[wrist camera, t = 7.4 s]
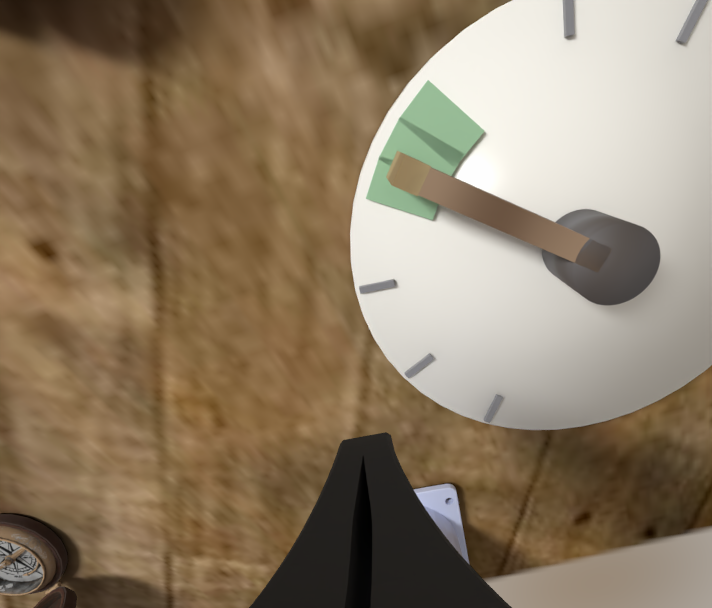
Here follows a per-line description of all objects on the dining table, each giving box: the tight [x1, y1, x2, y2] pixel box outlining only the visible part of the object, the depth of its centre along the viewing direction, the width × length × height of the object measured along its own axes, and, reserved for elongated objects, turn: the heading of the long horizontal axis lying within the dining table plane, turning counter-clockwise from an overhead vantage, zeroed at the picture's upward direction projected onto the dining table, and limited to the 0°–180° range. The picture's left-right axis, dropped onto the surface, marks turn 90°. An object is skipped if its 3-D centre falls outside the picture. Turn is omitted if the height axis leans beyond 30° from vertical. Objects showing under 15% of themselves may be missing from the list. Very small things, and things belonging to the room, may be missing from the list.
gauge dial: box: [350, 0, 712, 430], centre depth 20 cm, size 20×20×1 cm
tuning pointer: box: [386, 151, 660, 305], centre depth 18 cm, size 11×3×3 cm, turn 67°
